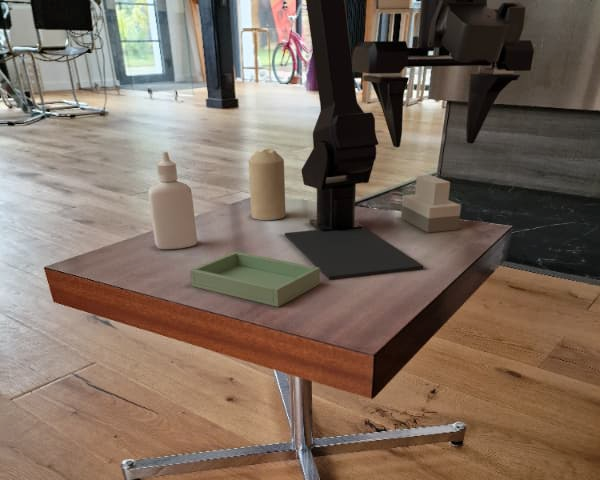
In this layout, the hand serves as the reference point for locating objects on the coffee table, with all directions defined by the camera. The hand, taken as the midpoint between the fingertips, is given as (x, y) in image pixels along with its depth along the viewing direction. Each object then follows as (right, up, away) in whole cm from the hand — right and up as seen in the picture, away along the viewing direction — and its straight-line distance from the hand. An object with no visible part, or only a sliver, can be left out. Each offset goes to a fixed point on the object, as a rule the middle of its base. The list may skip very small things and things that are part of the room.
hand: (433, 145), depth 65 cm
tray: (-20, -16, 0) cm, 26 cm away
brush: (+4, -2, +22) cm, 22 cm away
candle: (-20, 0, +28) cm, 34 cm away
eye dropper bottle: (-32, -8, +14) cm, 36 cm away
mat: (-9, -9, +11) cm, 17 cm away
